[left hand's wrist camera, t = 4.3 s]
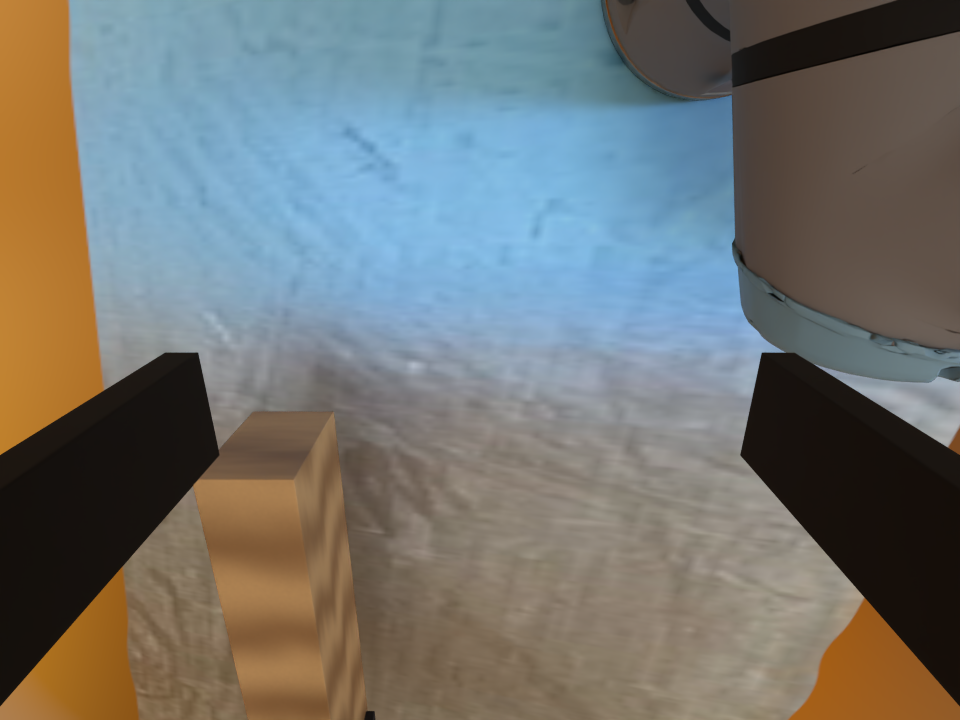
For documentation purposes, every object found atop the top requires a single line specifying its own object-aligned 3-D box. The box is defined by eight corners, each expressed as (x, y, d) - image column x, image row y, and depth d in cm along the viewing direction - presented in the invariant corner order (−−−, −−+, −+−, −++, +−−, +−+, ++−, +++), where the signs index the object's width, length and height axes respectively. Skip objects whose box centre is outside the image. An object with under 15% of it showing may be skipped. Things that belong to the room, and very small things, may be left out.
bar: (253, 411, 35) (191, 479, 28) (333, 411, 35) (293, 479, 28) (311, 741, 48) (278, 851, 40) (371, 741, 48) (350, 851, 40)
